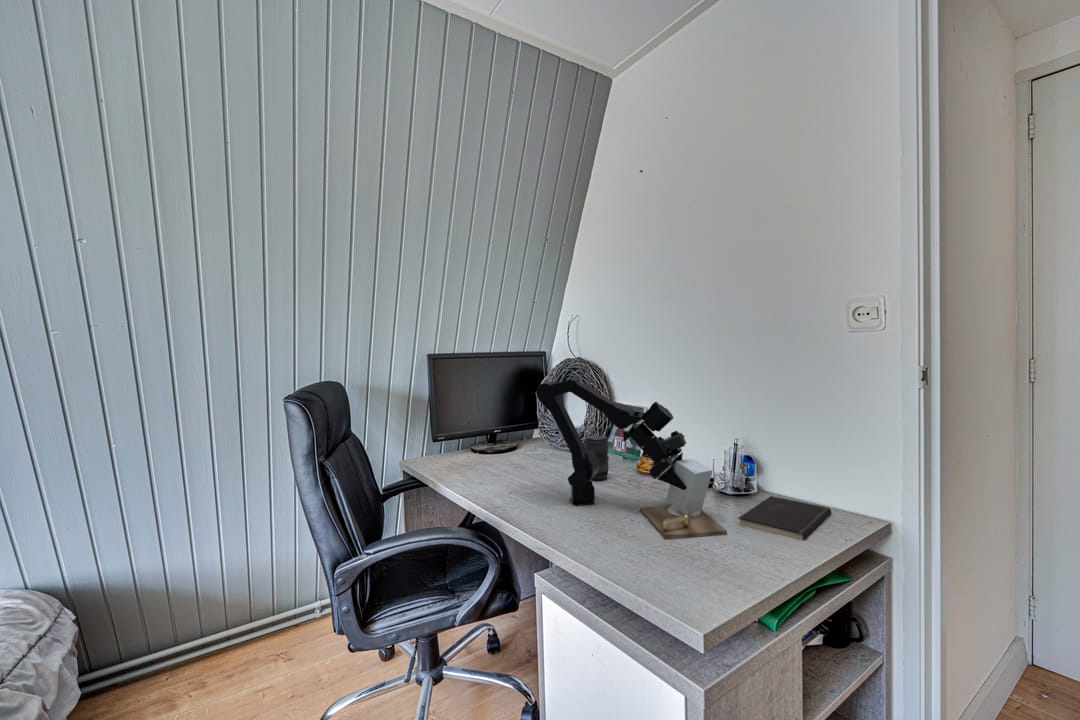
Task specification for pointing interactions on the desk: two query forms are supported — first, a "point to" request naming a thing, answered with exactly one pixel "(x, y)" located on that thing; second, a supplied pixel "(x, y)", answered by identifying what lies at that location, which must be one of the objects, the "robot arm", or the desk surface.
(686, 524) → the bent brass wire
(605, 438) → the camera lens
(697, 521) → the walnut board
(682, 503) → the supplement box
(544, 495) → the desk surface
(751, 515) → the hardcover book
